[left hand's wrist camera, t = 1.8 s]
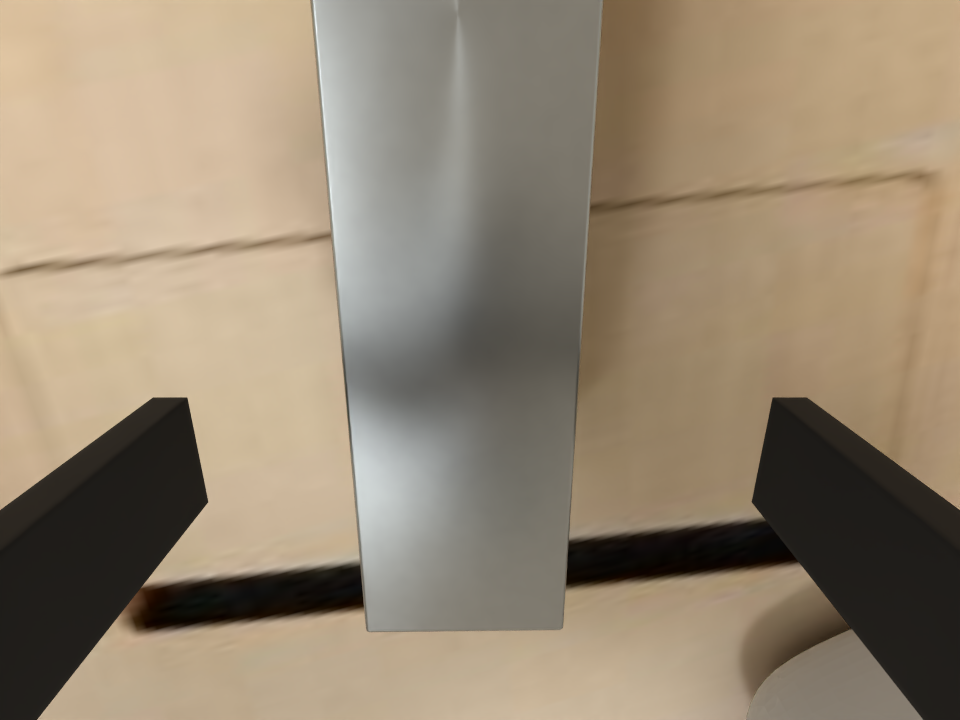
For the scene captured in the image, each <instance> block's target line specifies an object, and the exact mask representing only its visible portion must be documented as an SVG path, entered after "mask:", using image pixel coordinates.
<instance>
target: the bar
mask: <svg viewBox="0 0 960 720" xmlns="http://www.w3.org/2000/svg"><path fill="white" fill-rule="evenodd" d="M310 1H311V13H312V24H313V35H314V47H315V58H316V69H317V80H318V92H319V103H320V114H321V126H322V137H323V148H324V159H325V171H326V182H327V193H328V205H329V216H330V227H331V238H332V250H333V261H334V272H335V284H336V295H337V306H338V317H339V329H340V340H341V351H342V362H343V374H344V385H345V396H346V408H347V419H348V430H349V441H350V453H351V464H352V475H353V487H354V498H355V509H356V520H357V532H358V543H359V554H360V566H361V577H362V588H363V599H364V611H365V622H366V630H367V631H368V632H418V631H508V630H561V629H562V628H563V620H564V604H565V589H566V573H567V558H568V542H569V527H570V511H571V496H572V480H573V465H574V449H575V434H576V418H577V403H578V387H579V371H580V356H581V340H582V325H583V309H584V294H585V278H586V263H587V247H588V232H589V216H590V201H591V185H592V170H593V154H594V139H595V123H596V108H597V92H598V77H599V61H600V46H601V30H602V14H603V0H310Z"/></svg>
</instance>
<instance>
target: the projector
mask: <svg viewBox="0 0 960 720" xmlns="http://www.w3.org/2000/svg"><path fill="white" fill-rule="evenodd" d="M746 720H923V719H922V718H921V716H920V715H919V714H918V713H917V711H916V710H915V709H914V707H913V706H912V705H911V704H910V702H909V701H908V700H907V699H906V697H905V696H904V695H903V694H902V692H901V691H900V690H899V688H898V687H897V686H896V685H895V683H894V682H893V681H892V680H891V678H890V677H889V676H888V674H887V673H886V672H885V671H884V669H883V668H882V667H881V666H880V664H879V663H878V662H877V660H876V659H875V658H874V657H873V655H872V654H871V653H870V652H869V650H868V649H867V648H866V647H865V645H864V644H863V643H862V641H861V640H860V639H859V638H858V636H857V635H856V634H855V633H854V631H853V630H852V629H850V630H848V631H846V632H843V633H841V634H839V635H837V636H834V637H832V638H830V639H828V640H826V641H824V642H821V643H819V644H817V645H815V646H813V647H811V648H809V649H808V650H806V651H804V652H802V653H800V654H799V655H797V656H795V657H793V658H791V659H790V660H789V661H787V662H786V663H784V664H783V665H782V666H780V667H779V668H777V669H776V670H775V671H773V672H772V673H771V674H770V675H769V676H768V677H767V678H766V679H765V680H764V682H763V683H762V684H761V686H760V687H759V688H758V690H757V691H756V693H755V695H754V697H753V699H752V702H751V704H750V707H749V710H748V714H747V718H746Z"/></svg>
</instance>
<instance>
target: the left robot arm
mask: <svg viewBox="0 0 960 720" xmlns="http://www.w3.org/2000/svg"><path fill="white" fill-rule="evenodd" d="M207 503H208V498H207V493H206V488H205V483H204V478H203V474H202V469H201V464H200V459H199V454H198V449H197V444H196V439H195V434H194V429H193V424H192V419H191V414H190V409H189V404H188V399H187V398H152V399H151V400H149V401H148V402H146V403H145V404H144V405H142V406H141V407H140V408H138V409H137V410H136V411H134V412H133V413H132V414H130V415H129V416H127V417H126V418H125V419H123V420H122V421H121V422H119V423H118V424H117V425H115V426H114V427H113V428H111V429H110V430H108V431H107V432H106V433H104V434H103V435H102V436H100V437H99V438H98V439H96V440H95V441H94V442H92V443H91V444H89V445H88V446H87V447H85V448H84V449H83V450H81V451H80V452H79V453H77V454H76V455H75V456H73V457H72V458H70V459H69V460H68V461H66V462H65V463H64V464H62V465H61V466H60V467H58V468H57V469H56V470H54V471H53V472H51V473H50V474H49V475H47V476H46V477H45V478H43V479H42V480H41V481H39V482H38V483H37V484H35V485H34V486H32V487H31V488H30V489H28V490H27V491H26V492H24V493H23V494H22V495H20V496H19V497H17V498H16V499H15V500H13V501H12V502H11V503H9V504H8V505H7V506H5V507H4V508H3V509H1V510H0V720H37V719H38V718H39V716H40V715H41V714H42V713H43V711H44V710H45V709H46V707H47V706H48V705H49V704H50V702H51V701H52V700H53V699H54V697H55V696H56V695H57V694H58V692H59V691H60V690H61V688H62V687H63V686H64V685H65V683H66V682H67V681H68V680H69V678H70V677H71V676H72V674H73V673H74V672H75V671H76V669H77V668H78V667H79V666H80V664H81V663H82V662H83V660H84V659H85V658H86V657H87V655H88V654H89V653H90V652H91V650H92V649H93V648H94V647H95V645H96V644H97V643H98V641H99V640H100V639H101V638H102V636H103V635H104V634H105V633H106V631H107V630H108V629H109V627H110V626H111V625H112V624H113V622H114V621H115V620H116V619H117V617H118V616H119V615H120V613H121V612H122V611H123V610H124V608H125V607H126V606H127V605H128V603H129V602H130V601H131V600H132V598H133V597H134V596H135V594H136V593H137V592H138V591H139V589H140V588H141V587H142V586H143V584H144V583H145V582H146V580H147V579H148V578H149V577H150V575H151V574H152V573H153V572H154V570H155V569H156V568H157V566H158V565H159V564H160V563H161V561H162V560H163V559H164V558H165V556H166V555H167V554H168V553H169V551H170V550H171V549H172V547H173V546H174V545H175V544H176V542H177V541H178V540H179V539H180V537H181V536H182V535H183V533H184V532H185V531H186V530H187V528H188V527H189V526H190V525H191V523H192V522H193V521H194V519H195V518H196V517H197V516H198V514H199V513H200V512H201V511H202V509H203V508H204V507H205V506H206V504H207ZM752 503H753V504H754V506H755V507H756V508H757V509H758V511H759V512H760V513H761V514H762V516H763V517H764V518H765V519H766V521H767V522H768V523H769V525H770V526H771V527H772V528H773V530H774V531H775V532H776V533H777V535H778V536H779V537H780V539H781V540H782V541H783V542H784V544H785V545H786V546H787V547H788V549H789V550H790V551H791V553H792V554H793V555H794V556H795V558H796V559H797V560H798V561H799V563H800V564H801V565H802V566H803V568H804V569H805V570H806V572H807V573H808V574H809V575H810V577H811V578H812V579H813V580H814V582H815V583H816V584H817V586H818V587H819V588H820V589H821V591H822V592H823V593H824V594H825V596H826V597H827V598H828V600H829V601H830V602H831V603H832V605H833V606H834V607H835V608H836V610H837V611H838V612H839V613H840V615H841V616H842V617H843V619H844V620H845V621H846V622H847V624H848V625H849V626H850V627H851V629H852V630H853V631H854V633H855V634H856V635H857V636H858V638H859V639H860V640H861V641H862V643H863V644H864V645H865V647H866V648H867V649H868V650H869V652H870V653H871V654H872V655H873V657H874V658H875V659H876V660H877V662H878V663H879V664H880V666H881V667H882V668H883V669H884V671H885V672H886V673H887V674H888V676H889V677H890V678H891V680H892V681H893V682H894V683H895V685H896V686H897V687H898V688H899V690H900V691H901V692H902V694H903V695H904V696H905V697H906V699H907V700H908V701H909V702H910V704H911V705H912V706H913V707H914V709H915V710H916V711H917V713H918V714H919V715H920V716H921V718H922V719H923V720H960V510H959V509H957V508H956V507H955V506H953V505H952V504H951V503H949V502H948V501H947V500H945V499H944V498H943V497H941V496H940V495H938V494H937V493H936V492H934V491H933V490H932V489H930V488H929V487H928V486H926V485H925V484H923V483H922V482H921V481H919V480H918V479H917V478H915V477H914V476H913V475H911V474H910V473H909V472H907V471H906V470H904V469H903V468H902V467H900V466H899V465H898V464H896V463H895V462H894V461H892V460H891V459H890V458H888V457H887V456H885V455H884V454H883V453H881V452H880V451H879V450H877V449H876V448H875V447H873V446H872V445H871V444H869V443H868V442H866V441H865V440H864V439H862V438H861V437H860V436H858V435H857V434H856V433H854V432H853V431H852V430H850V429H849V428H847V427H846V426H845V425H843V424H842V423H841V422H839V421H838V420H837V419H835V418H834V417H833V416H831V415H830V414H828V413H827V412H826V411H824V410H823V409H822V408H820V407H819V406H818V405H816V404H815V403H814V402H812V401H811V400H809V399H808V398H773V399H772V404H771V409H770V414H769V419H768V424H767V429H766V434H765V439H764V444H763V449H762V454H761V459H760V464H759V469H758V473H757V478H756V483H755V488H754V493H753V498H752Z"/></svg>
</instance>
